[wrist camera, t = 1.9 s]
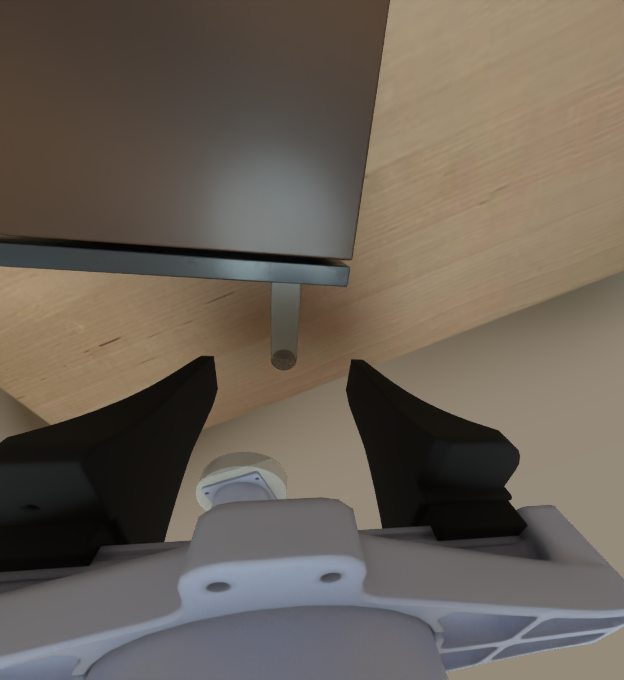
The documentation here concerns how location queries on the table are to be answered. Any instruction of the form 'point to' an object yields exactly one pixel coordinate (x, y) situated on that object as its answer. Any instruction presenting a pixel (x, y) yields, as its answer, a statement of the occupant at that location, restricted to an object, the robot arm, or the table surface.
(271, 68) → the cabinet
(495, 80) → the table surface
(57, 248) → the door
